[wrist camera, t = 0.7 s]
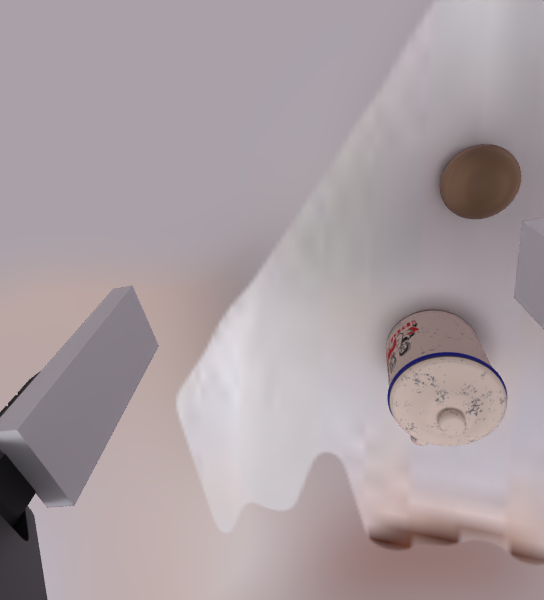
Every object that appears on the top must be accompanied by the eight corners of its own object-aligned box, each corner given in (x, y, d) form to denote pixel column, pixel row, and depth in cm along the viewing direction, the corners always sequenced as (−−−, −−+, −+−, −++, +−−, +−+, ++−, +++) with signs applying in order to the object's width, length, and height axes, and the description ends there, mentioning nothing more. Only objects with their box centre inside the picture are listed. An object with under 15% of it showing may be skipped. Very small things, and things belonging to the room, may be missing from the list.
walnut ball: (516, 144, 31) (544, 149, 26) (496, 213, 33) (519, 229, 28) (442, 140, 32) (457, 144, 27) (428, 208, 34) (439, 223, 29)
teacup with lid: (395, 298, 38) (407, 364, 28) (493, 316, 37) (543, 393, 27) (368, 394, 43) (369, 479, 33) (452, 413, 42) (481, 508, 32)
